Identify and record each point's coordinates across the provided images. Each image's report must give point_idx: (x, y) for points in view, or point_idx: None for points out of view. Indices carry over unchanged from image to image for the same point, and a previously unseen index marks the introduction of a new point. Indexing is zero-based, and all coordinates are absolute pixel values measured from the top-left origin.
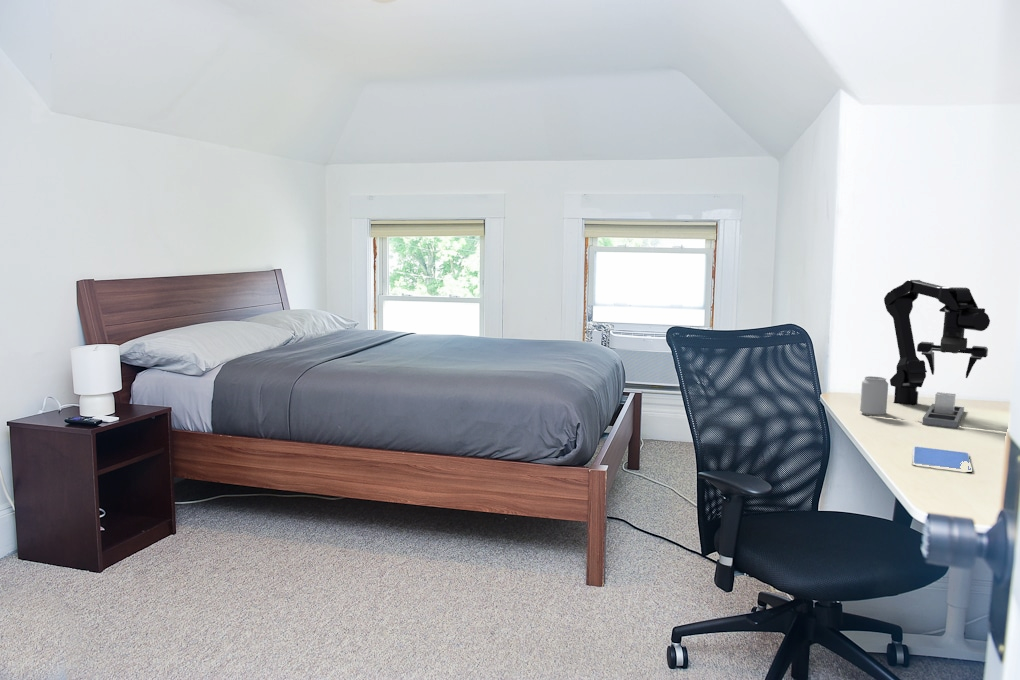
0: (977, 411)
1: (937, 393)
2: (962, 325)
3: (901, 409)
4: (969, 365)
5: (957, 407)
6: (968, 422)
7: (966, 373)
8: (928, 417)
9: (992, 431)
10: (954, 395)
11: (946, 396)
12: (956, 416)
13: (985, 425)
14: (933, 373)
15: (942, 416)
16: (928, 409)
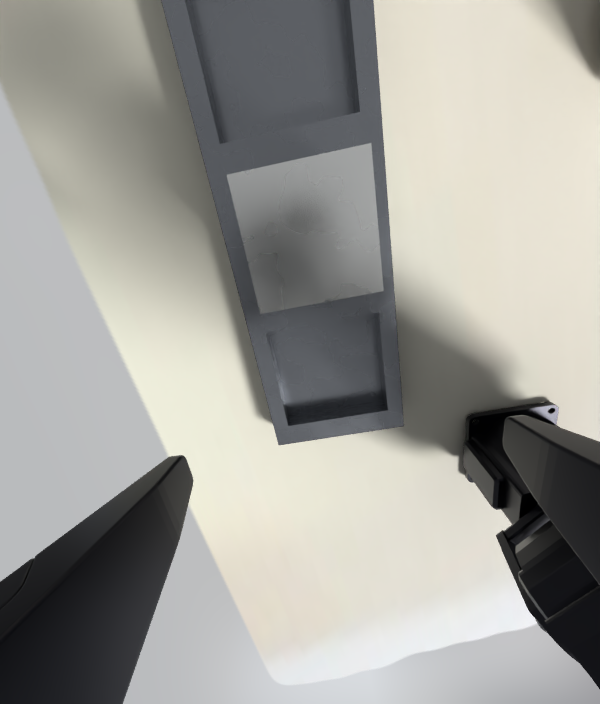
0: (256, 493)
1: (369, 221)
2: None
3: (510, 318)
4: (6, 611)
5: (298, 423)
6: (194, 231)
7: (149, 487)
8: (350, 49)
9: (13, 53)
10: (242, 230)
11: (285, 164)
12: (217, 144)
13: (115, 216)
14: (515, 427)
15: (290, 132)
16: (390, 254)
